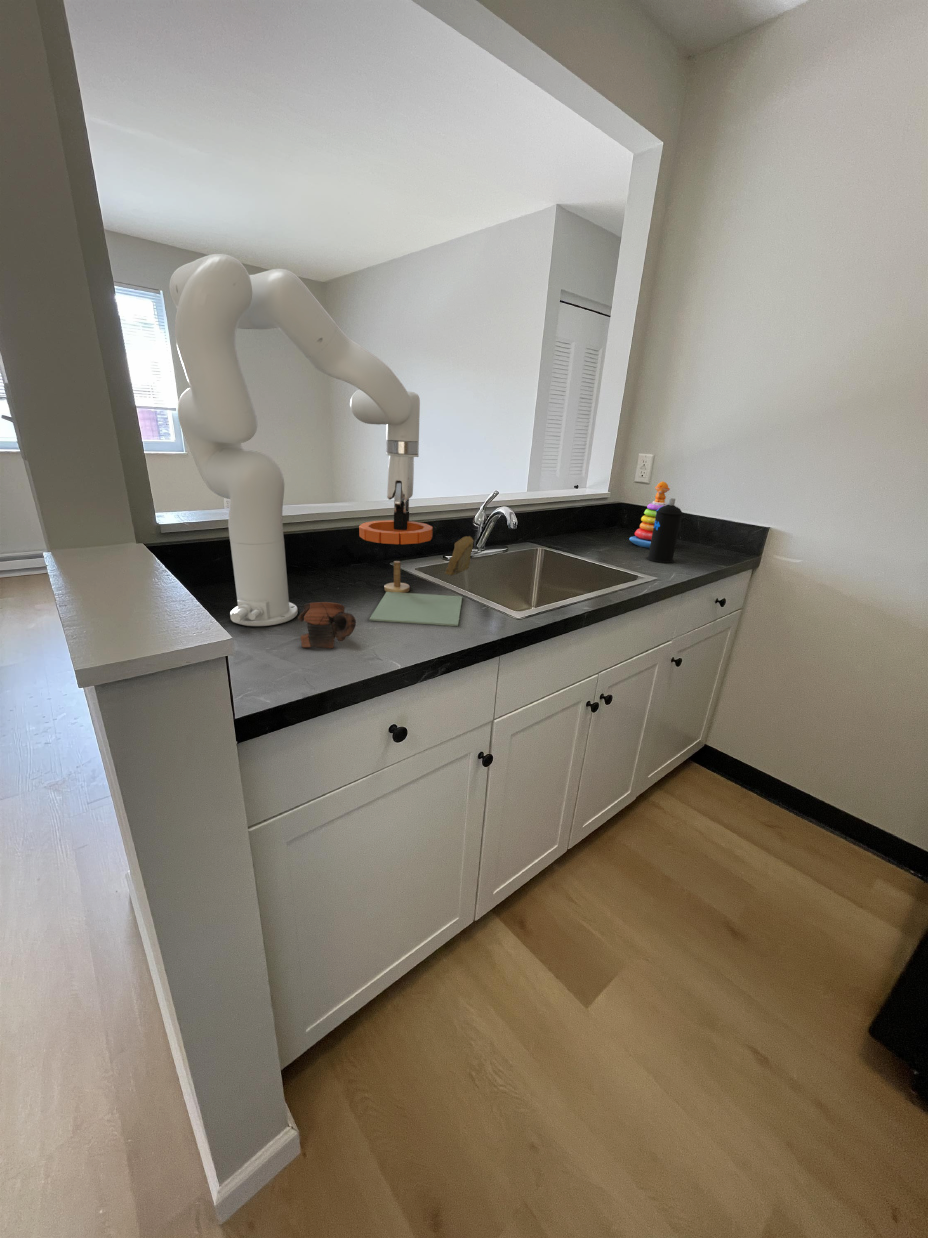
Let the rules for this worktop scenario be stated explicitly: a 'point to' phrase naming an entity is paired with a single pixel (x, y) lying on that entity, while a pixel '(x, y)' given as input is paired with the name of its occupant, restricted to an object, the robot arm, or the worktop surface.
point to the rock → (460, 556)
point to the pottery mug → (325, 624)
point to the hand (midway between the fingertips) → (401, 527)
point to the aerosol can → (665, 533)
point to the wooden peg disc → (397, 581)
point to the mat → (418, 609)
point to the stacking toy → (650, 517)
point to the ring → (387, 534)
